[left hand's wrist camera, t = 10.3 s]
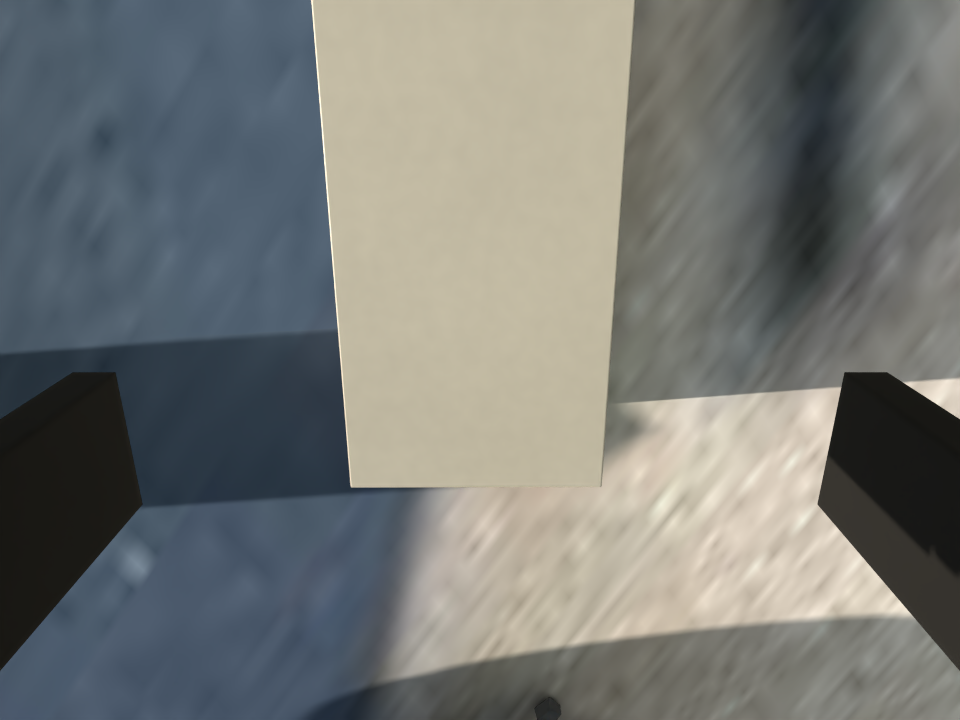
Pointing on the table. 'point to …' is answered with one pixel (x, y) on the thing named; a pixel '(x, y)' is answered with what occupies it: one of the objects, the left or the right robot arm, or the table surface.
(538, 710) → the toy
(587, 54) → the wide beam
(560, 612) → the table surface
